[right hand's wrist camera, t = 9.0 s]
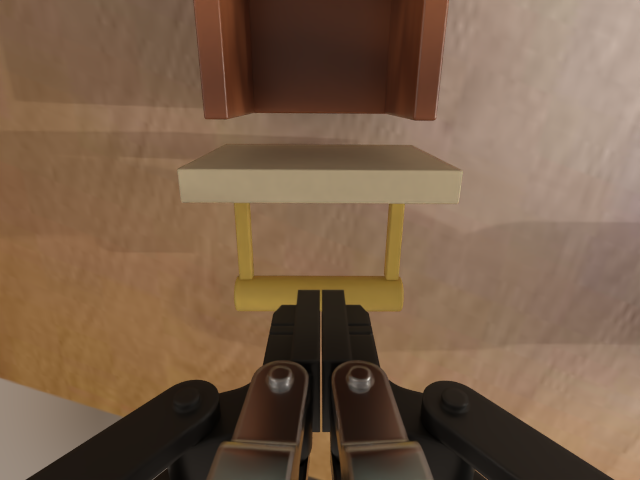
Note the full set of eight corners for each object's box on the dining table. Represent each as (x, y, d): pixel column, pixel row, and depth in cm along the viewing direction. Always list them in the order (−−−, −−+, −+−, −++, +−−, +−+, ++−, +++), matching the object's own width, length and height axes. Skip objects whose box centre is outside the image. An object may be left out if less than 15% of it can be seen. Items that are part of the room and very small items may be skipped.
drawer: (401, 272, 23) (439, 350, 16) (235, 271, 23) (198, 349, 16) (447, -257, 15) (565, -573, 8) (194, -261, 15) (83, -584, 8)
